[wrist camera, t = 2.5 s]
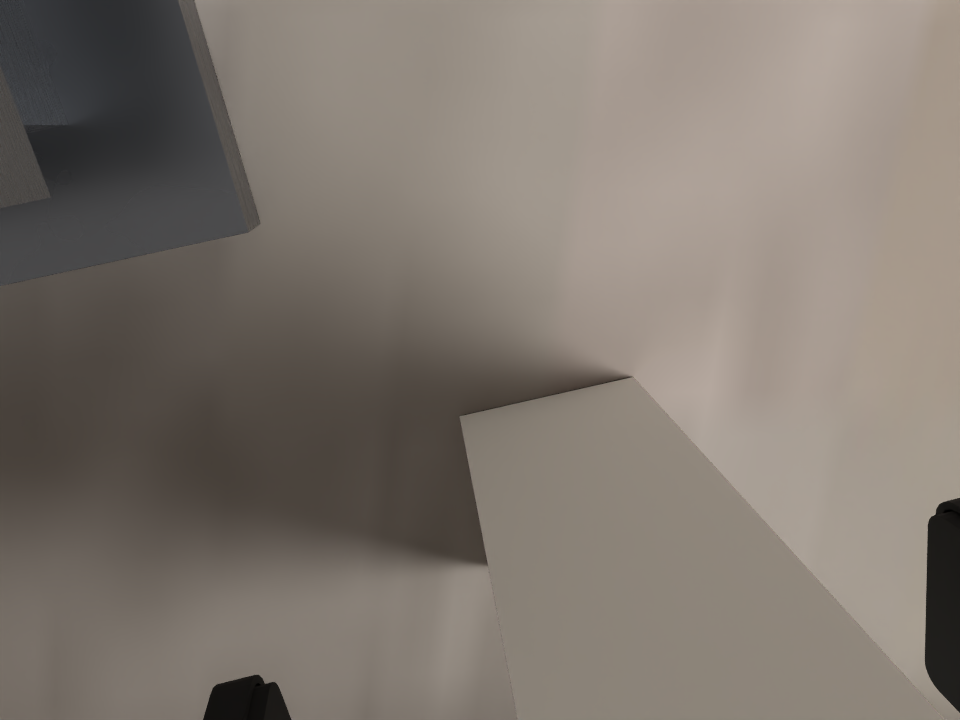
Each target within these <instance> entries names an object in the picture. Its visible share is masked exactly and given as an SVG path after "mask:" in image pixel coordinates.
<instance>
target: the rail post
mask: <svg viewBox="0 0 960 720" xmlns="http://www.w3.org/2000/svg"><path fill="white" fill-rule="evenodd" d="M459 417H460V422H461V427H462V432H463V437H464V443H465V448H466V453H467V458H468V464H469V469H470V474H471V479H472V484H473V490H474V495H475V500H476V505H477V511H478V516H479V521H480V526H481V531H482V537H483V542H484V547H485V552H486V557H487V563H488V568H489V573H490V578H491V584H492V589H493V594H494V599H495V604H496V610H497V615H498V620H499V625H500V631H501V636H502V641H503V646H504V651H505V657H506V662H507V667H508V672H509V677H510V683H511V688H512V693H513V698H514V704H515V709H516V714H517V719H518V720H945V719H944V718H943V717H942V716H941V715H940V714H939V712H938V711H937V710H936V709H935V708H934V707H933V706H932V705H931V704H930V703H929V701H928V700H927V699H926V698H925V697H924V696H923V695H922V694H921V693H920V692H919V690H918V689H917V688H916V687H915V686H914V685H913V684H912V683H911V682H910V681H909V679H908V678H907V677H906V676H905V675H904V674H903V673H902V672H901V671H900V670H899V668H898V667H897V666H896V665H895V664H894V663H893V662H892V661H891V660H890V659H889V657H888V656H887V655H886V654H885V653H884V652H883V651H882V650H881V649H880V648H879V646H878V645H877V644H876V643H875V642H874V641H873V640H872V639H871V638H870V637H869V635H868V634H867V633H866V632H865V631H864V630H863V629H862V628H861V627H860V626H859V624H858V623H857V622H856V621H855V620H854V619H853V618H852V617H851V616H850V615H849V613H848V612H847V611H846V610H845V609H844V608H843V607H842V606H841V605H840V604H839V602H838V601H837V600H836V599H835V598H834V597H833V596H832V595H831V594H830V593H829V591H828V590H827V589H826V588H825V587H824V586H823V585H822V584H821V583H820V582H819V580H818V579H817V578H816V577H815V576H814V575H813V574H812V573H811V572H810V571H809V569H808V568H807V567H806V566H805V565H804V564H803V563H802V562H801V561H800V560H799V558H798V557H797V556H796V555H795V554H794V553H793V552H792V551H791V550H790V549H789V547H788V546H787V545H786V544H785V543H784V542H783V541H782V540H781V539H780V538H779V536H778V535H777V534H776V533H775V532H774V531H773V530H772V529H771V528H770V527H769V525H768V524H767V523H766V522H765V521H764V520H763V519H762V518H761V517H760V516H759V514H758V513H757V512H756V511H755V510H754V509H753V508H752V507H751V506H750V505H749V503H748V502H747V501H746V500H745V499H744V498H743V497H742V496H741V495H740V494H739V492H738V491H737V490H736V489H735V488H734V487H733V486H732V485H731V484H730V483H729V481H728V480H727V479H726V478H725V477H724V476H723V475H722V474H721V473H720V472H719V470H718V469H717V468H716V467H715V466H714V465H713V464H712V463H711V462H710V461H709V459H708V458H707V457H706V456H705V455H704V454H703V453H702V452H701V451H700V450H699V448H698V447H697V446H696V445H695V444H694V443H693V442H692V441H691V440H690V439H689V437H688V436H687V435H686V434H685V433H684V432H683V431H682V430H681V429H680V428H679V426H678V425H677V424H676V423H675V422H674V421H673V420H672V419H671V418H670V417H669V415H668V414H667V413H666V412H665V411H664V410H663V409H662V408H661V407H660V406H659V404H658V403H657V402H656V401H655V400H654V399H653V398H652V397H651V396H650V395H649V393H648V392H647V391H646V390H645V389H644V388H643V387H642V386H641V385H640V384H639V382H638V381H637V380H636V379H635V378H634V377H631V378H627V379H622V380H618V381H613V382H609V383H605V384H600V385H596V386H591V387H587V388H582V389H578V390H574V391H569V392H565V393H560V394H556V395H552V396H547V397H543V398H538V399H534V400H529V401H525V402H521V403H516V404H512V405H507V406H503V407H499V408H494V409H490V410H485V411H481V412H476V413H472V414H468V415H463V416H459Z"/></svg>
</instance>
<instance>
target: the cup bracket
mask: <svg viewBox="0 0 960 720" xmlns="http://www.w3.org/2000/svg"><path fill="white" fill-rule="evenodd" d="M259 224H260V220H259V217H258V214H257V210H256V207H255V204H254V200H253V197H252V194H251V190H250V187H249V183H248V180H247V177H246V173H245V170H244V167H243V163H242V160H241V157H240V153H239V150H238V147H237V143H236V140H235V136H234V133H233V130H232V126H231V123H230V120H229V116H228V113H227V110H226V106H225V103H224V100H223V96H222V93H221V89H220V86H219V83H218V79H217V76H216V73H215V69H214V66H213V63H212V59H211V56H210V53H209V49H208V46H207V42H206V39H205V36H204V32H203V29H202V26H201V22H200V19H199V16H198V12H197V9H196V6H195V2H194V0H0V286H2V285H7V284H11V283H16V282H21V281H25V280H30V279H34V278H39V277H44V276H48V275H53V274H57V273H62V272H67V271H71V270H76V269H81V268H85V267H90V266H94V265H99V264H104V263H108V262H113V261H118V260H122V259H127V258H131V257H136V256H141V255H145V254H150V253H155V252H159V251H164V250H168V249H173V248H178V247H182V246H187V245H192V244H196V243H201V242H205V241H210V240H215V239H219V238H224V237H229V236H233V235H238V234H242V233H247V232H249V231H251V230H252V229H254V228H255V227H257V226H258V225H259Z"/></svg>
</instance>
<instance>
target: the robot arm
mask: <svg viewBox="0 0 960 720" xmlns="http://www.w3.org/2000/svg"><path fill="white" fill-rule="evenodd" d="M925 666H926V669H927V672H928V675H929V677H930V679H931V681H932V682H933V684H934V685H935V687H936V688H937V689H938V690H939V691H940V693H941V694H942V695H943V696H944V697H945V698H946V699H947V700H948V701H949V702H950V703H951V704H952V705H953V706H954V707H955V708H956V709H957V710H958V711H959V713H960V498H958V499H954V500H950V501H946V502H943V503H941V504H939V506H938V507H937V509H936V515H934V516H932V517H931V518H930V520H929V523H928V547H927V591H926V634H925ZM203 720H291V718H290V715H289V712H288V710H287V707H286V705H285V702H284V699H283V697H282V694H281V691H280V689H279V687H278V685H277V684H276V683H275V682H271V683H268V684H265V683H264V681H263V679H262V678H261V677H260V676H259V675H253V676H249V677H245V678H241V679H237V680H233V681H229V682H225V683H221V684H217V685H216V686H215V687H214V688H213V690H212V692H211V695H210V698H209V701H208V705H207V708H206V712H205V715H204V719H203Z"/></svg>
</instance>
